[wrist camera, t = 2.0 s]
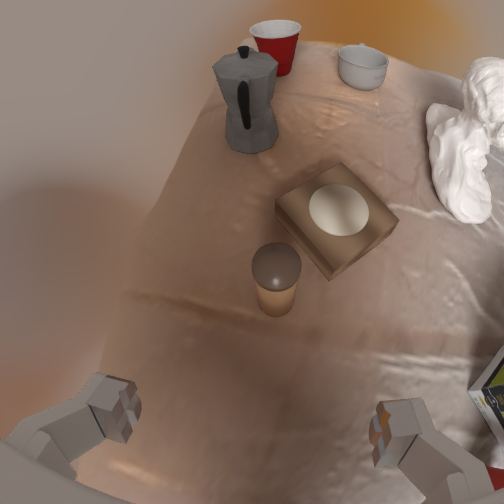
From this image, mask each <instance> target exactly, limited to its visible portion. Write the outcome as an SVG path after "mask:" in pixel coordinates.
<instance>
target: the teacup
mask: <svg viewBox="0 0 504 504" xmlns="http://www.w3.org/2000/svg"><path fill="white" fill-rule="evenodd" d="M338 55H339V60H338V69H339V75H340V77H341V78H342V80H343V81H344V82H346V83H347V84H348V85H349V86H351V87H353V88H355V89H358V90H364V91H367V90H372V89H375V88H378V87H379V86H381V85H382V83H383V82H384V79H385V76H386V71H387V65H388V63H389V60H388V58H387V56H386V55H385V54H383V53H382V52H380V51H378V50H376V49H373V48H370V47H367V46H365V44H364V43H359V45H348V46H344V47H342V48H340V49H339V51H338Z"/></svg>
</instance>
